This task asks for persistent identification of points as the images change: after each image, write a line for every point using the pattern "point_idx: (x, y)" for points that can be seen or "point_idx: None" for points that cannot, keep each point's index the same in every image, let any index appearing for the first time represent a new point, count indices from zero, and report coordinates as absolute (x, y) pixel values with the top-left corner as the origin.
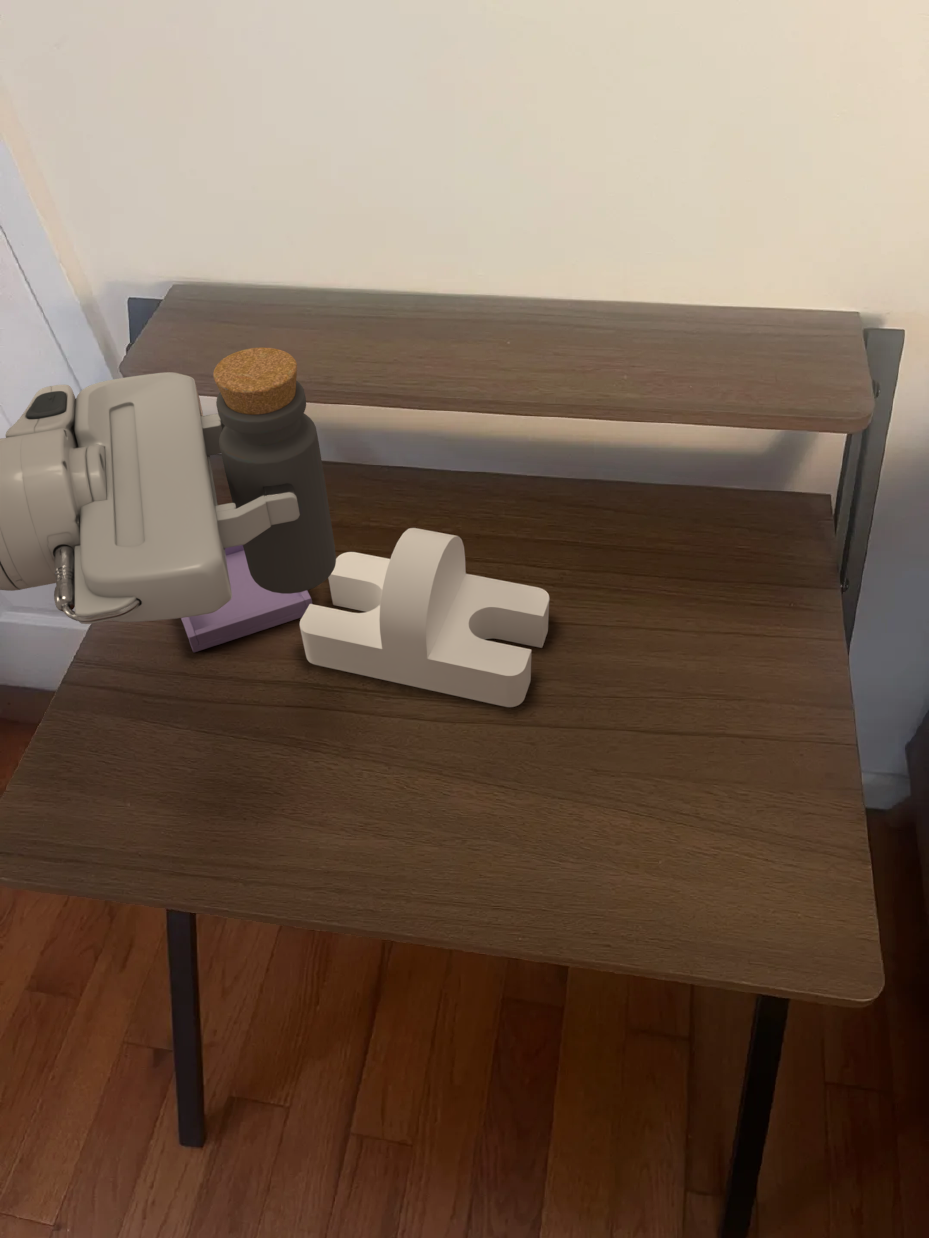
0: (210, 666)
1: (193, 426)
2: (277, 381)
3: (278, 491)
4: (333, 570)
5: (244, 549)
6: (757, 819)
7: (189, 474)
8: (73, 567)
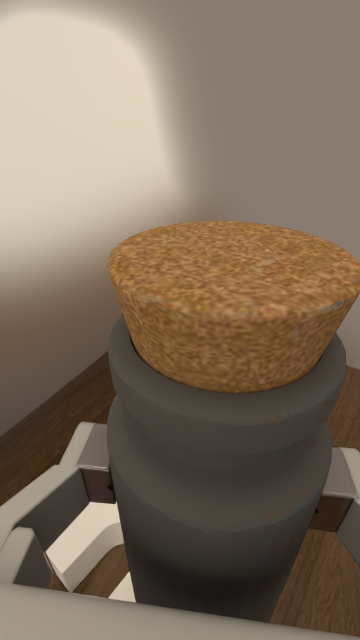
0: None
1: (19, 612)
2: (312, 237)
3: (341, 467)
4: (61, 564)
5: None
6: (355, 397)
7: None
8: None
